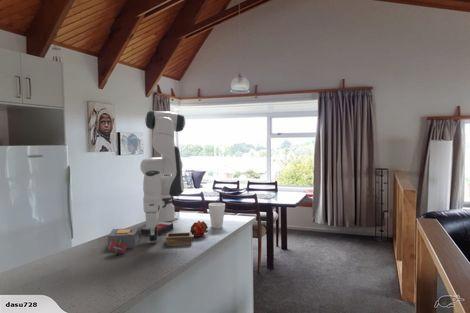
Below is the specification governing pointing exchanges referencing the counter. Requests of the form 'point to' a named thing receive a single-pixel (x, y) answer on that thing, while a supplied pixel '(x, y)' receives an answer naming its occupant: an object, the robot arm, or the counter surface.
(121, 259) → the counter surface
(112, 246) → the geometric puzzle
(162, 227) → the calculator
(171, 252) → the counter surface
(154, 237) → the battery cell
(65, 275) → the counter surface
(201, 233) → the dragon fruit
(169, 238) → the box
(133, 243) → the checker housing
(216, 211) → the foam cup
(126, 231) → the button
